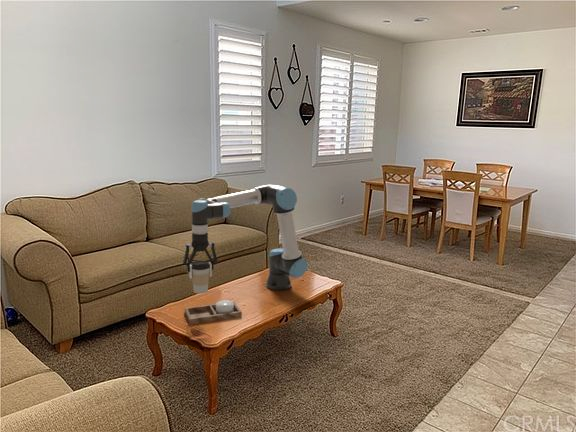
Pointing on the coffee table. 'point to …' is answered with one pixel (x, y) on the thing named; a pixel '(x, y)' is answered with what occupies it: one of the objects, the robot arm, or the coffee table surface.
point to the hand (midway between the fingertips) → (200, 276)
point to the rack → (209, 313)
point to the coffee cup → (200, 276)
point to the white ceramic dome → (224, 307)
